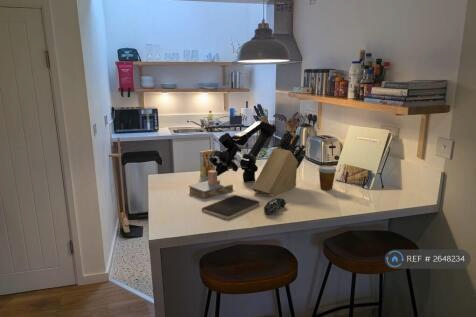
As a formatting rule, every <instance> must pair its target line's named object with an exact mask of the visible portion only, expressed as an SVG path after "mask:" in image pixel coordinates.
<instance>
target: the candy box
mask: <svg viewBox="0 0 476 317" xmlns="http://www.w3.org/2000/svg"><path fill="white" fill-rule="evenodd" d="M214 153H215V150H214V149H208V150H201V151H199V164H200V165H199V170H200V171H199V172H200V176H202V177H208V171H211V170H214V171H216V166H214V165H213V164H212V163H211V162H210V161H209V159H210V157H216V156H214Z"/></svg>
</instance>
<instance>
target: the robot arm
mask: <svg viewBox="0 0 476 317" xmlns="http://www.w3.org/2000/svg"><path fill="white" fill-rule="evenodd" d="M276 131H277V127H276V125H275V124H274V123H272V124H271V123H267V122H265V121H263V120H257V121H255V122H254V123H253V124H252V125H250V126H249V127H247V128H246V129H245V130H243V131H241V132H237V133H235V134H234V135H232V136H231V134H230V133H229V132H225V133H224V134H222V135H221V136H219V138H218V142H219V143H220V144H221V146H223V147H224V149H226V150H222V151H220V150H214V151H215V153H214V156H215V157H210V159H209V161H210V162H211V163H212V164H213V165H214V166H215V171H217V177H219V176H220V175H222V174H224V173H227V172H228V171H230V170H229V169H230V168H231V169H232V171H233V172H235V173H237V172H238V170H239V166H238V164H236V163H235V162H234V161H235V159H236V158H235V157H236V155H237V153H242V149H241V148H242V147H243V146H245V145H246V144H247V143H248V142H249V138H251V137H252V136H253V135H255V134H256V133H257V132H260V134H259V136H258V138H257V139H256V141H255V142H254V144H253V146H252V147H251V149H250V151H249V152H248V153H243V155H242V157H241V158H240V161H239V165H240V168H241V170H242V171H243V172H242V180H243V182H244V183H245V182H246V183H247V182H249V183H255V182H256V172H258V170H259V167H258V166H257V165H256V163H257V157H258V156H259V154H260V152H261V150H262V149H263V147H264V145H265V143H266V142H267V140H268V139H270V138H271V137H273V135H274V134H275V133H276ZM241 146H242V147H241Z"/></svg>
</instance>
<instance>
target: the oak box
mask: <svg viewBox="0 0 476 317" xmlns="http://www.w3.org/2000/svg"><path fill="white" fill-rule="evenodd" d="M217 184H220V185H221V180H220V179H217ZM223 186H224V187H222V188H219V189H215V190H212V191H208V192H205V193H204V192H201V191H198V190H196V189H193V188H190V187H189V194H191V195H194V196H197V197H198V198H201V199H207V198H210V197H213V196H217V195H221V194H224V193H227V192H231V191H233V190H234V184H233V183H230V184H227V185H223Z"/></svg>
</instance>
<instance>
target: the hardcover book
mask: <svg viewBox="0 0 476 317" xmlns="http://www.w3.org/2000/svg"><path fill="white" fill-rule="evenodd" d="M259 205H260V201H259V200H255V199H253V198H248V197H244V196H241V195H238V194H234V195H232V196H229V197H227V198H224V199H221V200H218V201H217V202H214V203H212V204H211V203H210V204H208V205H206V206H204V207H201V211H202V212H205V213H209V214H211V215H214V216H217V217H220V218H223V219H225V220H229V219H231V218H235V217H236V216H238V215H240V214H243V213H245V212H247V211H249V210H252V209H254V208H256V207H258V206H259Z"/></svg>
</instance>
